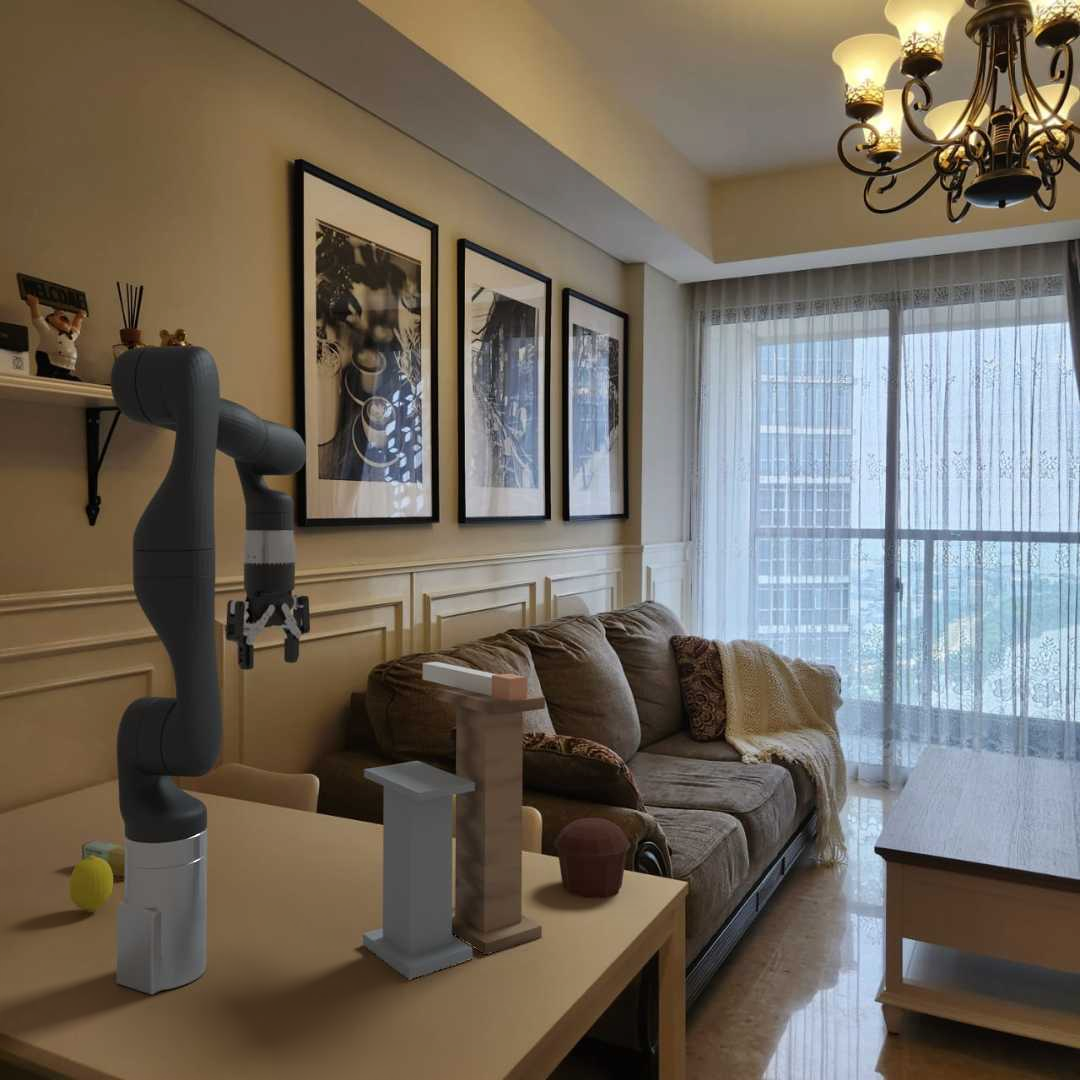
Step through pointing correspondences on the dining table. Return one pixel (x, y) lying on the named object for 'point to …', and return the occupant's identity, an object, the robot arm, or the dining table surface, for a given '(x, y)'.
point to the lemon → (91, 883)
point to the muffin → (592, 857)
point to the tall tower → (490, 820)
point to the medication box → (106, 855)
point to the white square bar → (477, 680)
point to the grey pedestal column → (417, 869)
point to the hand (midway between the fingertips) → (269, 665)
